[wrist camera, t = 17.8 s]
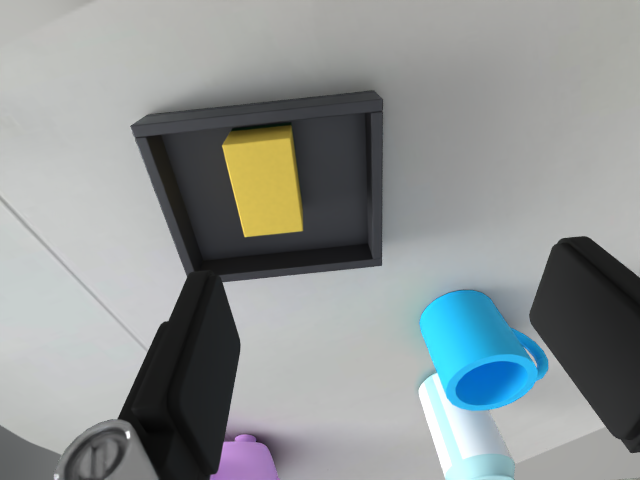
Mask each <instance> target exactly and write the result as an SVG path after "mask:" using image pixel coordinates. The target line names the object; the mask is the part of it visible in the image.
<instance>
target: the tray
mask: <svg viewBox="0 0 640 480" xmlns="http://www.w3.org/2000/svg"><path fill="white" fill-rule="evenodd" d="M382 110H383V99H382V98H381V97H380V96H379V95H378V94H377V93H376V92H375V91H374V90H373V91H364V92H355V93H346V94H336V95H327V96H318V97H308V98H299V99H290V100H280V101H271V102H262V103H252V104H243V105H234V106H225V107H215V108H206V109H197V110H187V111H178V112H169V113H159V114H150V115H146V116H145V117H143V118H142V119H140V120H139V121H137V122H136V123H134V124H133V125H131V126H130V127H131V130H132V133H133V135H134V137H136V138H135V141H136V143H137V146H138V149H139V151H140V154H141V156H142V159H143V162H144V164H145V167H146V170H147V172H148V175H149V178H150V180H151V183H152V185H153V188H154V191H155V193H156V196H157V199H158V201H159V204H160V207H161V209H162V212H163V214H164V217H165V220H166V222H167V225H168V228H169V230H170V233H171V236H172V238H173V241H174V243H175V246H176V249H177V251H178V254H179V257H180V259H181V262H182V264H183V267H184V270H185V272H186V275H187V277H188V275H189V273H191V272H198V271H209V270H211V271H212V272H213V273H214V275H219V276H220V277H221V280H222V282H229V281H239V280H249V279H258V278H268V277H278V276H287V275H297V274H307V273H316V272H326V271H336V270H345V269H355V268H365V267H374V266H382V159H383V112H382ZM288 122H291V123H292V129H293V137H294V144H295V152H296V159H297V167H298V175H299V182H300V190H301V197H302V205H303V231H299V232H289V233H279V234H270V235H260V236H251V237H245V236H244V232H243V228H242V224H241V220H240V216H239V212H238V208H237V204H236V200H235V196H234V192H233V188H232V184H231V180H230V176H229V172H228V167H227V163H226V159H225V155H224V151H223V147H222V145H223V143H224V141H225V140H226V138H227V136H228V135H229V133H230V132H231V130H232V129H233V128H241V127H251V126H260V125H270V124H279V123H288Z"/></svg>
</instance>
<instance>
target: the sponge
mask: <svg viewBox="0 0 640 480" xmlns="http://www.w3.org/2000/svg"><path fill="white" fill-rule="evenodd" d="M222 147H223V151H224V155H225V159H226V163H227V167H228V172H229V176H230V180H231V184H232V188H233V192H234V196H235V200H236V204H237V208H238V212H239V216H240V220H241V224H242V228H243V232H244V236H245V237H251V236H260V235H270V234H279V233H289V232H299V231H303V205H302V197H301V190H300V182H299V175H298V167H297V159H296V152H295V144H294V137H293V129H292V123H291V122H288V123H279V124H270V125H260V126H251V127H241V128H233V129H232V130H231V132H230V133H229V135H228V136H227V138H226V140H225V141H224V143H223V145H222Z"/></svg>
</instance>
